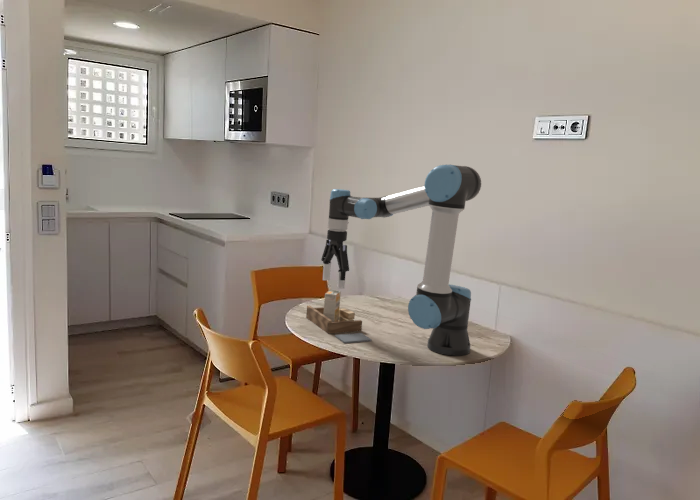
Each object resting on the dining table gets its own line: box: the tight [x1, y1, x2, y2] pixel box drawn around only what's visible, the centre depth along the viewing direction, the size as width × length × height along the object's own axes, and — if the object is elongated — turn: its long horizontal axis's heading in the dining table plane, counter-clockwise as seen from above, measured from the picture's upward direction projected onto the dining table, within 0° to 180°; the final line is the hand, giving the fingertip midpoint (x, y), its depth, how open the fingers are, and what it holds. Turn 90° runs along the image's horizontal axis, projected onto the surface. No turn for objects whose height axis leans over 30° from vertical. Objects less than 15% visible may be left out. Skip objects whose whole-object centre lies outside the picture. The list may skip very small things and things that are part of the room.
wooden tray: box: [305, 305, 363, 335], centre depth 222 cm, size 21×14×5 cm, turn 26°
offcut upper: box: [339, 308, 356, 320], centre depth 224 cm, size 7×3×2 cm, turn 36°
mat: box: [334, 332, 373, 344], centre depth 206 cm, size 8×11×1 cm
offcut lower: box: [338, 316, 355, 322], centre depth 224 cm, size 9×3×3 cm, turn 27°
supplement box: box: [323, 289, 342, 322], centre depth 221 cm, size 8×5×13 cm, turn 168°
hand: (333, 284), depth 220 cm, fingers open, 13 cm apart
